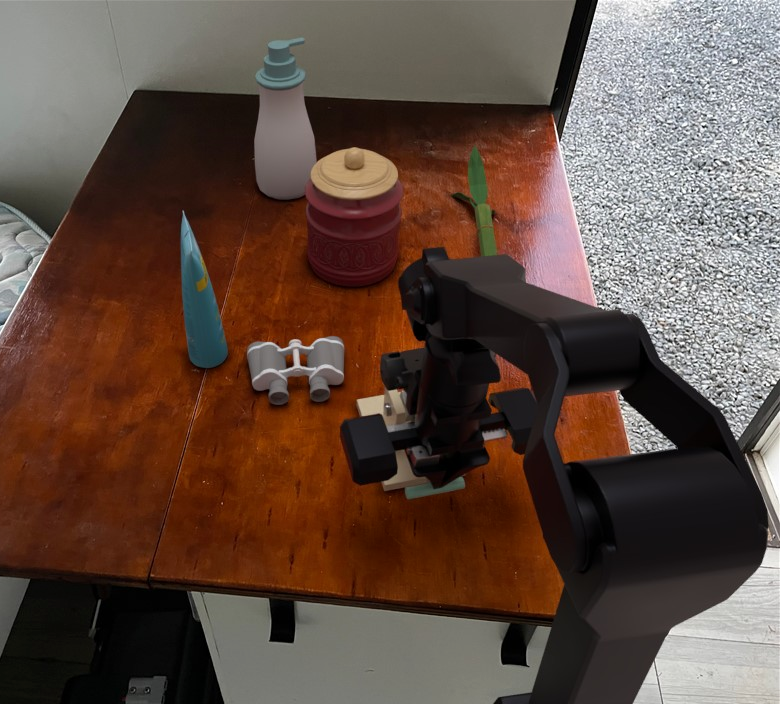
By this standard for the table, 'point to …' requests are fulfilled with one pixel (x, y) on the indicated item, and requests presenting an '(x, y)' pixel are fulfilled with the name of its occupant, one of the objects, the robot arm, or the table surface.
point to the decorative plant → (480, 204)
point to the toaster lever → (426, 488)
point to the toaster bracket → (392, 415)
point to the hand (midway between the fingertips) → (435, 484)
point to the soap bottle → (283, 125)
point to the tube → (200, 306)
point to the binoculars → (296, 367)
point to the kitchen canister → (353, 217)
